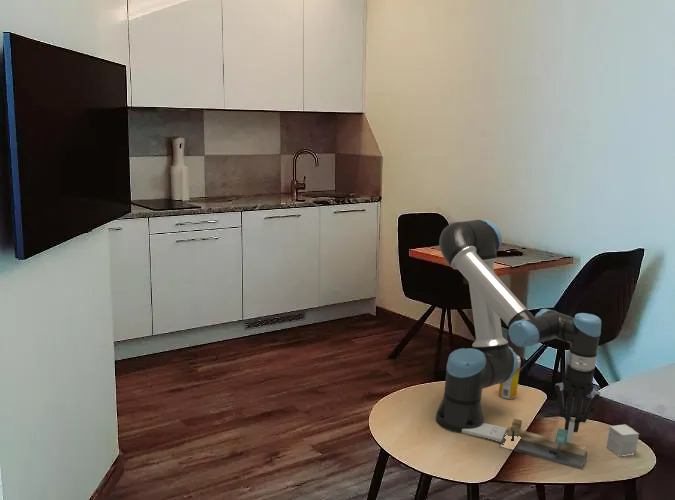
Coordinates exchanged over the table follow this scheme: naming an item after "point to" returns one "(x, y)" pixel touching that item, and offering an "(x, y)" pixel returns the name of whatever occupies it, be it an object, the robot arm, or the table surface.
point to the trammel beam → (542, 439)
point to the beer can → (510, 385)
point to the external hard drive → (487, 431)
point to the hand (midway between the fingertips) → (569, 440)
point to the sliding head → (561, 437)
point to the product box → (622, 440)
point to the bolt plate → (549, 453)
